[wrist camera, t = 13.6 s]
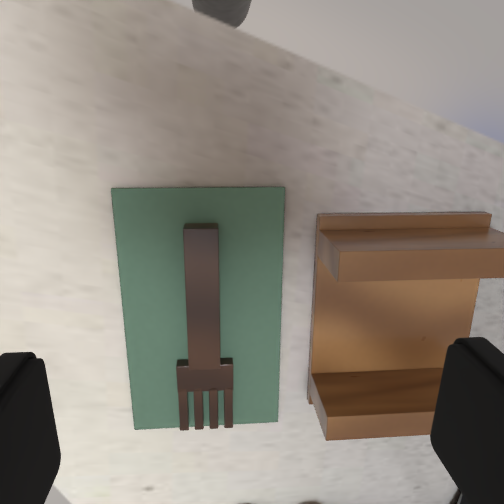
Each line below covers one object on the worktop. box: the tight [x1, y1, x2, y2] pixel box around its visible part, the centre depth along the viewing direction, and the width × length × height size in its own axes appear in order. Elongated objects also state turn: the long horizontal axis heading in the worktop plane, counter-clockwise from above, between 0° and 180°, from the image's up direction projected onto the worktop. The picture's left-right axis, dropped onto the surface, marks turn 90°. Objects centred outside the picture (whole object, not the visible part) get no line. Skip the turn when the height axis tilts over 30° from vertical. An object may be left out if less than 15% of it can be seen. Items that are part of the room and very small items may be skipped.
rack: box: [307, 212, 504, 441], centre depth 30 cm, size 16×13×6 cm
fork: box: [176, 223, 233, 430], centre depth 31 cm, size 17×4×2 cm, turn 179°
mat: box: [111, 187, 285, 430], centre depth 32 cm, size 20×12×1 cm, turn 0°
